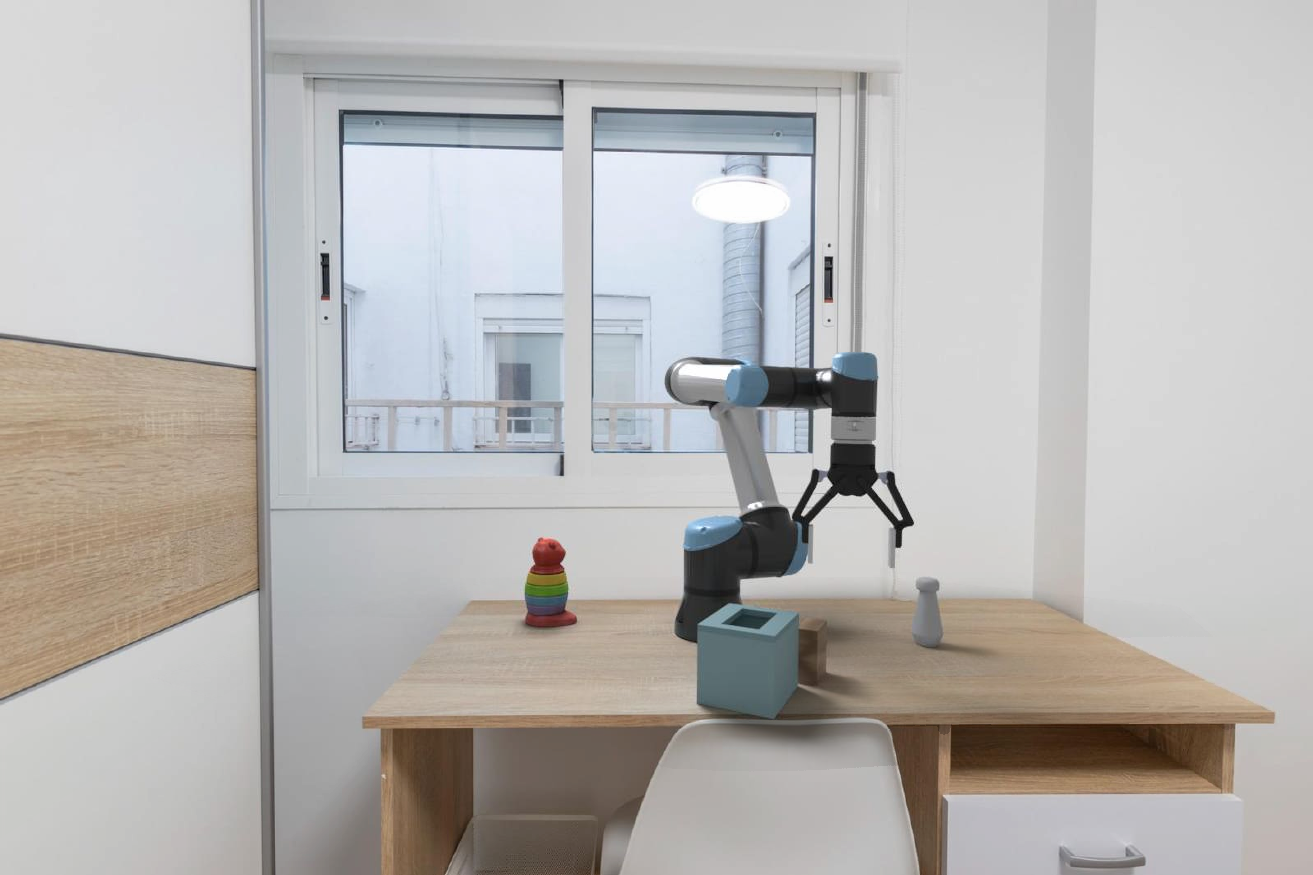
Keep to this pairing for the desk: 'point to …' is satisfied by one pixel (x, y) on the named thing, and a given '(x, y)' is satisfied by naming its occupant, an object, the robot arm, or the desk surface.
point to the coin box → (748, 659)
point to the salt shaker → (927, 614)
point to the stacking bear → (547, 586)
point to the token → (812, 651)
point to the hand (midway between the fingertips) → (850, 564)
